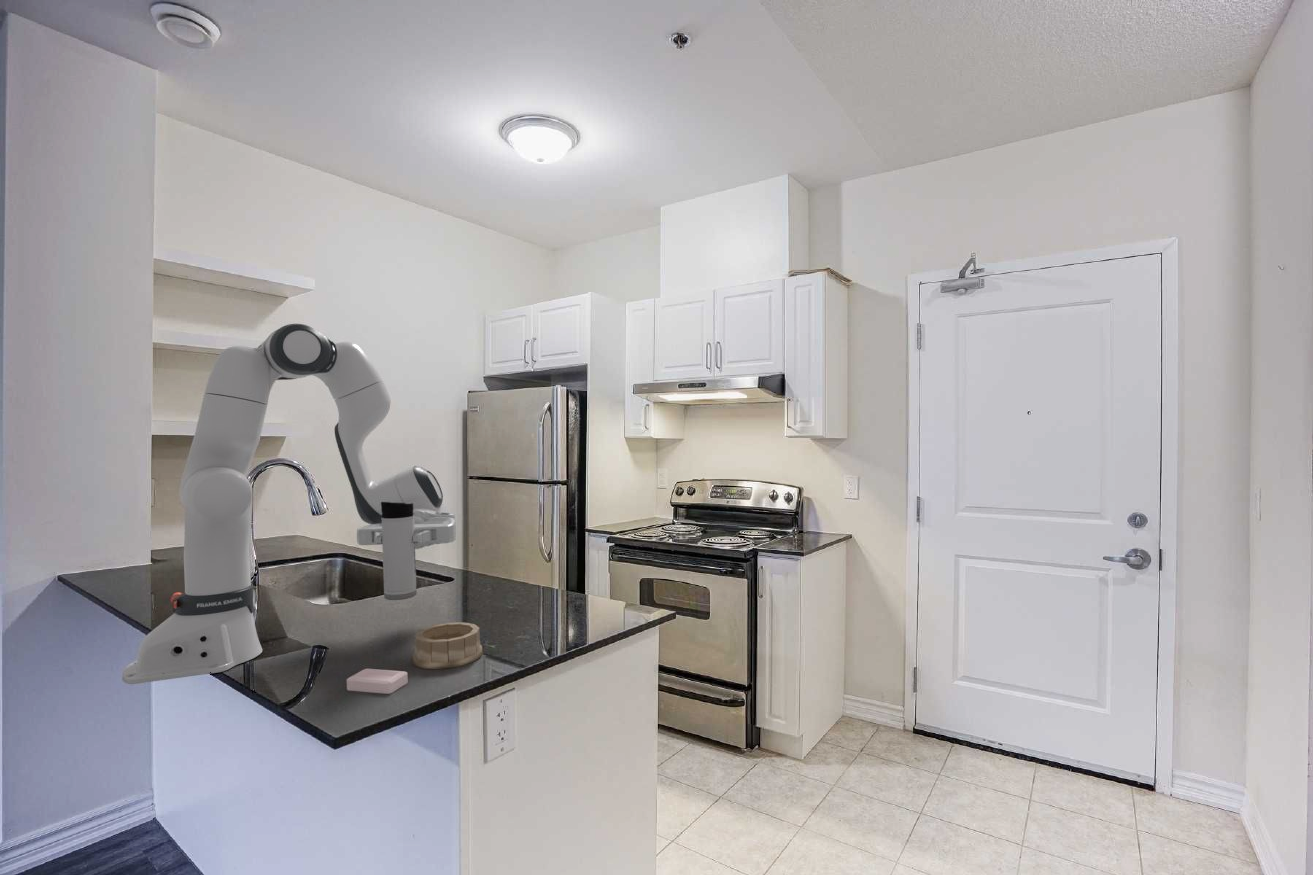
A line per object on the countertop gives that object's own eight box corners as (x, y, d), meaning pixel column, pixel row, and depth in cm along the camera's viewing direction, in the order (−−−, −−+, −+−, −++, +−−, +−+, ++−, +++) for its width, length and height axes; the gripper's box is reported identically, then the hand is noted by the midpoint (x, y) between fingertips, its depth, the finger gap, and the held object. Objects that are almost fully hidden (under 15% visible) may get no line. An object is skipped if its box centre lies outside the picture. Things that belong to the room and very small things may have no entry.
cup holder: (422, 674, 120) (421, 647, 120) (406, 654, 131) (405, 629, 131) (491, 658, 127) (490, 633, 127) (470, 641, 138) (470, 617, 138)
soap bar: (390, 695, 111) (389, 681, 111) (345, 691, 114) (344, 678, 114) (409, 683, 117) (408, 670, 117) (365, 680, 119) (365, 667, 119)
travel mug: (376, 598, 132) (372, 501, 132) (402, 590, 138) (399, 497, 138) (397, 602, 129) (393, 503, 129) (423, 594, 135) (420, 499, 135)
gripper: (368, 516, 145) (344, 526, 132) (461, 513, 147) (446, 522, 133) (369, 544, 146) (345, 557, 132) (462, 540, 147) (447, 553, 133)
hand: (397, 539), depth 133 cm, fingers closed on travel mug, 6 cm apart
